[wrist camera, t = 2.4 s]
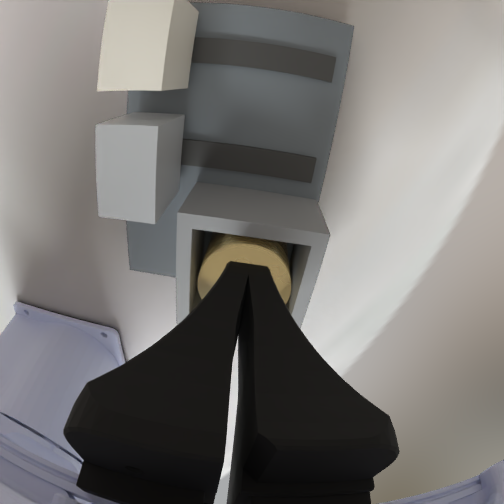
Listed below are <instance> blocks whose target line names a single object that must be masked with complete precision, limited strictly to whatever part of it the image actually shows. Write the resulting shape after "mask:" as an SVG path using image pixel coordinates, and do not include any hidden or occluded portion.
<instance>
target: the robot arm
mask: <svg viewBox="0 0 504 504" xmlns="http://www.w3.org/2000/svg"><path fill="white" fill-rule="evenodd" d="M13 306H14V310H15V312H16V314H15V316H14V317H13V318H12V320H11V321H10V322H9V324H8V325H7V327H6V328H5V329H4V331H3V332H2V333H1V335H0V504H213V503H214V499H215V495H216V493H217V489H218V484H219V480H220V476H221V472H222V468H223V463H224V455H225V445H226V436H227V422H228V408H229V395H230V383H231V372H232V361H233V356H234V352H235V347H236V343H237V338H238V405H237V415H236V425H235V434H234V444H233V453H232V462H231V471H230V480H229V488H228V497H227V504H371V499H370V491H372V490H373V489H374V481H373V477H374V476H375V475H376V474H378V473H379V472H381V471H382V470H384V469H385V468H386V467H388V466H389V465H390V464H391V463H393V462H394V460H396V458H397V456H398V454H399V447H398V443H397V438H396V434H395V430H394V427H393V425H392V422H391V419H390V416H389V415H387V414H386V413H384V412H383V411H381V410H380V409H379V408H378V407H376V406H375V405H373V404H372V403H371V402H369V401H368V400H367V399H365V398H364V397H363V396H361V395H360V394H359V393H358V392H357V391H355V390H354V389H353V388H352V387H351V386H350V385H349V384H348V383H346V382H345V381H344V380H343V379H342V378H341V377H340V376H339V375H338V374H337V373H336V372H335V371H334V370H333V369H332V368H331V367H330V366H329V365H328V364H327V362H326V361H325V360H324V359H323V358H322V357H321V356H320V355H319V353H318V352H317V351H316V350H315V349H314V347H313V346H312V345H311V343H310V342H309V341H308V339H307V338H306V337H305V335H304V334H303V332H302V331H301V329H300V328H299V326H298V325H297V323H296V322H295V320H294V319H293V317H292V315H291V313H290V312H289V310H288V308H287V306H286V304H285V303H284V301H283V299H282V297H281V295H280V293H279V291H278V289H277V287H276V284H275V282H274V280H273V277H272V275H271V272H270V269H269V268H268V267H267V266H262V265H255V264H248V263H241V262H234V261H230V262H228V263H227V264H226V267H225V268H224V270H223V272H222V274H221V275H220V277H219V278H218V280H217V281H216V283H215V284H214V285H213V287H212V288H211V289H210V291H209V292H208V293H207V295H206V296H205V297H204V298H203V299H202V300H201V301H200V303H199V304H198V305H197V306H196V307H195V308H194V309H193V310H192V311H191V312H190V313H189V314H188V315H187V316H186V317H185V318H184V319H183V320H182V321H181V322H180V323H179V324H178V325H177V326H176V327H175V328H174V329H172V330H171V331H170V332H169V333H167V334H166V335H165V336H164V337H162V338H161V339H160V340H159V341H157V342H156V343H155V344H153V345H152V346H151V347H149V348H148V349H146V350H145V351H143V352H142V353H140V354H139V355H137V356H135V357H134V358H132V359H131V360H129V361H127V362H126V363H125V359H124V355H123V351H122V346H121V342H120V337H119V334H118V332H117V331H116V330H115V329H113V328H110V327H106V326H102V325H98V324H94V323H90V322H86V321H82V320H78V319H75V318H71V317H67V316H64V315H60V314H57V313H53V312H50V311H47V310H43V309H40V308H37V307H33V306H30V305H27V304H24V303H21V302H15V304H14V305H13ZM378 504H504V460H502V461H500V462H498V463H496V464H494V465H493V466H491V467H489V468H487V469H486V470H485V471H483V472H482V473H481V474H480V475H478V476H475V477H473V478H470V479H467V480H465V481H462V482H459V483H456V484H453V485H450V486H447V487H444V488H441V489H437V490H434V491H430V492H427V493H423V494H419V495H416V496H411V497H407V498H403V499H398V500H394V501H389V502H384V503H378Z"/></svg>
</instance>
